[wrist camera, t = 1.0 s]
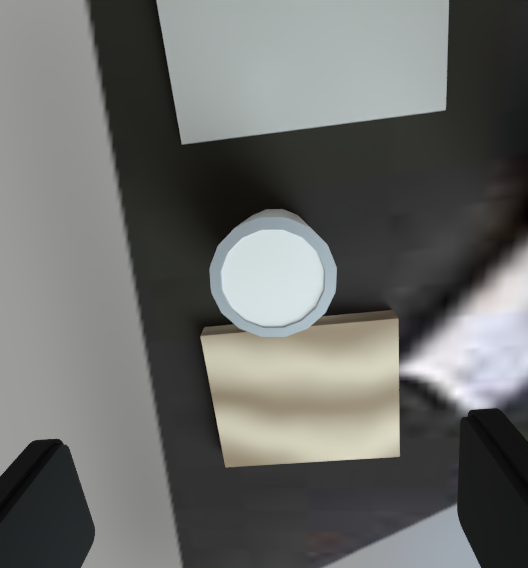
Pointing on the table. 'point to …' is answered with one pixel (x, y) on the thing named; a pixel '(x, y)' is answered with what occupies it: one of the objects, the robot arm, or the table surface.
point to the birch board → (307, 391)
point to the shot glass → (273, 275)
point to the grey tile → (301, 63)
